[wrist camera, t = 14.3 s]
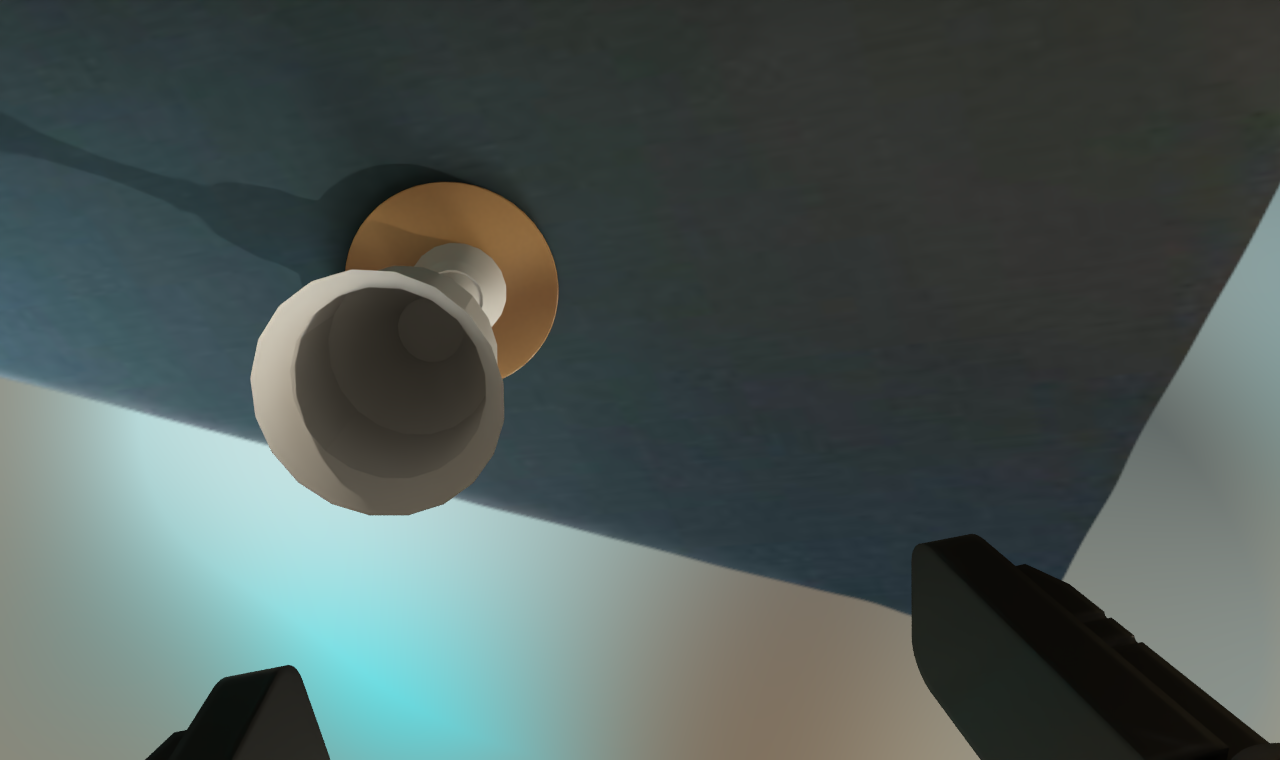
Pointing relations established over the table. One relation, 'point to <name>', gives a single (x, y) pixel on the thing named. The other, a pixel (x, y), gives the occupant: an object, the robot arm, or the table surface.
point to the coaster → (484, 224)
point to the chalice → (386, 381)
